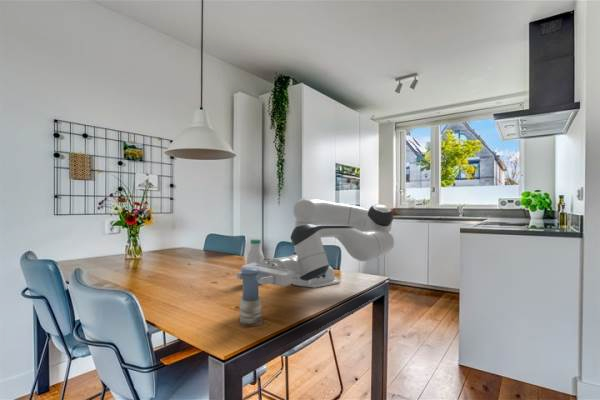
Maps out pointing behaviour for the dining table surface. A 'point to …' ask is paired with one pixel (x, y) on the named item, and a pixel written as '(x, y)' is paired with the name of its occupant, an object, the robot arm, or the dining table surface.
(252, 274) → the blue canister
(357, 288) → the dining table surface
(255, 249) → the milk bottle
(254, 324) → the stand
